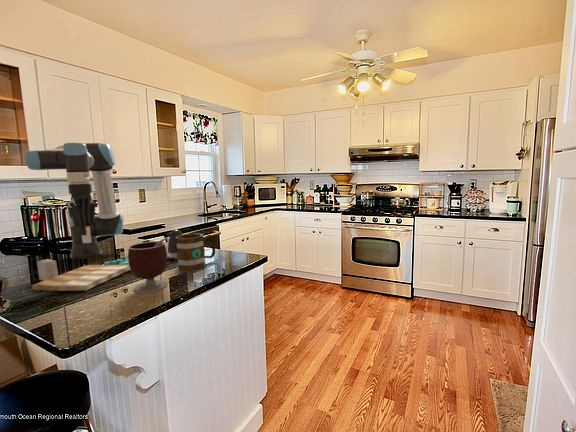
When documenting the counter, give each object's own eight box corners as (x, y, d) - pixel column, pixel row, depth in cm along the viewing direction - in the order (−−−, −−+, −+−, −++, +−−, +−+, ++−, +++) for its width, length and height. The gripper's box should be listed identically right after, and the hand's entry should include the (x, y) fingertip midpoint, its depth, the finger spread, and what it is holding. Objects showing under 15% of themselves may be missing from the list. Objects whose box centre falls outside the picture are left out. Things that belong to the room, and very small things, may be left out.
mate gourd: (123, 293, 117) (117, 241, 115) (145, 280, 131) (140, 234, 128) (161, 294, 115) (156, 241, 113) (179, 281, 129) (175, 234, 126)
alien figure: (104, 267, 156) (139, 268, 152) (103, 262, 156) (138, 263, 152) (131, 256, 175) (163, 257, 171) (131, 252, 175) (162, 253, 171)
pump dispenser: (164, 257, 168) (162, 230, 166) (182, 253, 176) (180, 227, 173) (172, 261, 161) (170, 232, 159) (191, 256, 168) (189, 229, 166)
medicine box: (59, 279, 138) (56, 260, 136) (47, 282, 134) (44, 263, 133) (50, 277, 142) (48, 258, 140) (39, 280, 138) (36, 261, 137)
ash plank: (110, 269, 150) (109, 265, 150) (132, 268, 149) (131, 264, 148) (59, 290, 123) (58, 285, 123) (86, 290, 121) (85, 285, 121)
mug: (183, 272, 140) (181, 240, 138) (172, 266, 151) (170, 236, 149) (222, 263, 153) (220, 233, 151) (210, 258, 163) (208, 230, 161)
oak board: (87, 268, 152) (87, 264, 152) (109, 269, 151) (108, 265, 150) (32, 290, 125) (32, 285, 125) (58, 290, 123) (58, 285, 123)
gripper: (74, 183, 114) (82, 246, 117) (100, 182, 127) (107, 239, 130) (56, 184, 115) (65, 246, 119) (84, 183, 128) (91, 239, 131)
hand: (87, 242), depth 124 cm, fingers closed
